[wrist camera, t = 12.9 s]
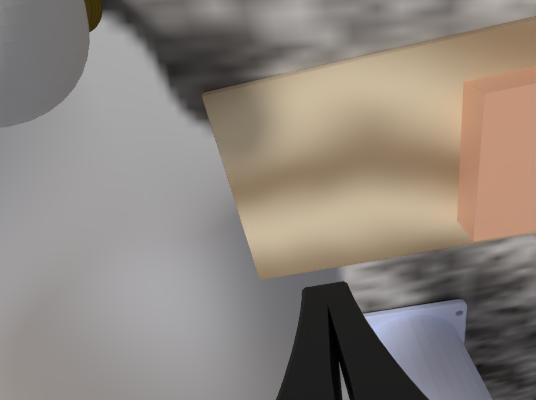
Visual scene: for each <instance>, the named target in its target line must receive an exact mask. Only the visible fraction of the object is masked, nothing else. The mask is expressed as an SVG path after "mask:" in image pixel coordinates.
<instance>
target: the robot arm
mask: <svg viewBox="0 0 536 400" xmlns="http://www.w3.org/2000/svg"><path fill="white" fill-rule="evenodd" d="M466 315H467V304H466V303H465V301H464V300H462V299H456V300H449V301H443V302H436V303H430V304H423V305H417V306H410V307H404V308H397V309H391V310H384V311H378V312H371V313H365V314H363V313H362V312H361V310H360V308H359V307H358V305H357V303H356V301H355V299H354V297H353V295H352V293H351V291H350V289H349V286H348V284H347V283H346V282H344V281H342V282H336V283H331V284H324V285H318V286H312V287H306V288H304V289H303V290H302V301H301V311H300V317H299V323H298V328H297V332H296V336H295V340H294V345H293V349H292V353H291V356H290V359H289V363H288V366H287V369H286V373H285V376H284V379H283V382H282V385H281V388H280V391H279V393H278V396H277V399H276V400H342V390H341V381H340V380H341V379H340V369H339V363H340V366H341V370H342V374H343V377H344V381H345V384H346V388H347V391H348V395H349V399H350V400H493V399H492V397H491V395H490V394H489V392H488V390H487V388H486V386H485V384H484V382H483V380H482V378H481V376H480V375H479V373H478V371H477V369H476V367H475V365H474V363H473V361H472V359H471V357H470V355H469V354H468V352H467V350H466V348H465V346H464V341H465V328H466Z"/></svg>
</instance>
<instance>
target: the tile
mask: <svg viewBox="0 0 536 400" xmlns="http://www.w3.org/2000/svg"><path fill="white" fill-rule="evenodd" d="M457 221H458V222H459V224H460V225H461V226H462V228H463V229H464V230H465V232H466V233H467V234H468V236H469V237H470V238H471V239H472V241H473V242H476V241H481V240H487V239H493V238H499V237H505V236H511V235H517V234H523V233H529V232H534V231H536V66H533V67H529V68H524V69H520V70H515V71H510V72H506V73H501V74H496V75H492V76H487V77H482V78H478V79H473V80H469V81H464V84H463V105H462V126H461V146H460V167H459V188H458V209H457Z"/></svg>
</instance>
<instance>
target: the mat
mask: <svg viewBox="0 0 536 400" xmlns="http://www.w3.org/2000/svg"><path fill="white" fill-rule="evenodd" d="M533 66H536V16H534V17H530V18H526V19H521V20H517V21H513V22H508V23H504V24H500V25H495V26H491V27H487V28H482V29H478V30H474V31H469V32H465V33H460V34H456V35H452V36H447V37H443V38H439V39H434V40H430V41H426V42H421V43H417V44H413V45H408V46H404V47H399V48H395V49H391V50H386V51H382V52H378V53H373V54H369V55H365V56H360V57H356V58H352V59H347V60H343V61H338V62H334V63H330V64H325V65H321V66H317V67H312V68H308V69H304V70H299V71H295V72H291V73H286V74H282V75H278V76H273V77H269V78H264V79H260V80H256V81H251V82H247V83H243V84H238V85H234V86H230V87H225V88H221V89H217V90H212V91H208V92H203V94H202V99H203V102H204V105H205V108H206V112H207V115H208V118H209V121H210V124H211V127H212V130H213V134H214V137H215V140H216V143H217V146H218V149H219V152H220V155H221V159H222V162H223V165H224V168H225V171H226V174H227V178H228V181H229V184H230V187H231V190H232V193H233V197H234V199H235V203H236V206H237V209H238V212H239V215H240V218H241V222H242V225H243V228H244V231H245V234H246V238H247V241H248V244H249V247H250V250H251V253H252V256H253V259H254V263H255V266H256V269H257V272H258V275H259V278H260V280H263V279H269V278H274V277H280V276H286V275H292V274H298V273H303V272H310V271H316V270H322V269H327V268H334V267H339V266H345V265H351V264H357V263H363V262H369V261H375V260H381V259H387V258H393V257H399V256H404V255H410V254H416V253H422V252H428V251H434V250H440V249H446V248H452V247H458V246H464V245H469V244H475V243H481V242H487V241H493V240H499V239H505V238H511V237H517V236H523V235H529V234H534V233H536V231H534V232H529V233H523V234H517V235H511V236H505V237H499V238H493V239H487V240H481V241H476V242H473V241H472V239H471V238H470V237H469V236H468V234H467V233H466V232H465V230H464V229H463V228H462V226H461V225H460V224H459V222H458V221H457V209H458V188H459V167H460V146H461V126H462V105H463V84H464V81H469V80H473V79H478V78H482V77H487V76H492V75H496V74H501V73H506V72H510V71H515V70H520V69H524V68H529V67H533Z"/></svg>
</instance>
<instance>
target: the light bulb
mask: <svg viewBox="0 0 536 400" xmlns="http://www.w3.org/2000/svg"><path fill="white" fill-rule="evenodd" d="M101 17H102V0H0V127H8V126H13V125H17V124H21V123H24V122H28V121H30V120H33V119H35V118H37V117H39V116H41V115H43V114H45V113H47V112H49V111H50V110H52V109H53V108H54V107H56V106H57V105H58V104H59V103H61V102H62V101H63V100H64V99H65V98H66V97H67V96H68V95H69V93H70V92H71V91H72V90H73V89H74V87H75V86H76V84H77V82H78V80H79V79H80V77H81V75H82V73H83V70H84V67H85V63H86V61H87V56H88V49H89V32H91V31H92V30H93V29H95V28H96V27H97V25H98V24H99V22H100V20H101Z"/></svg>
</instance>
